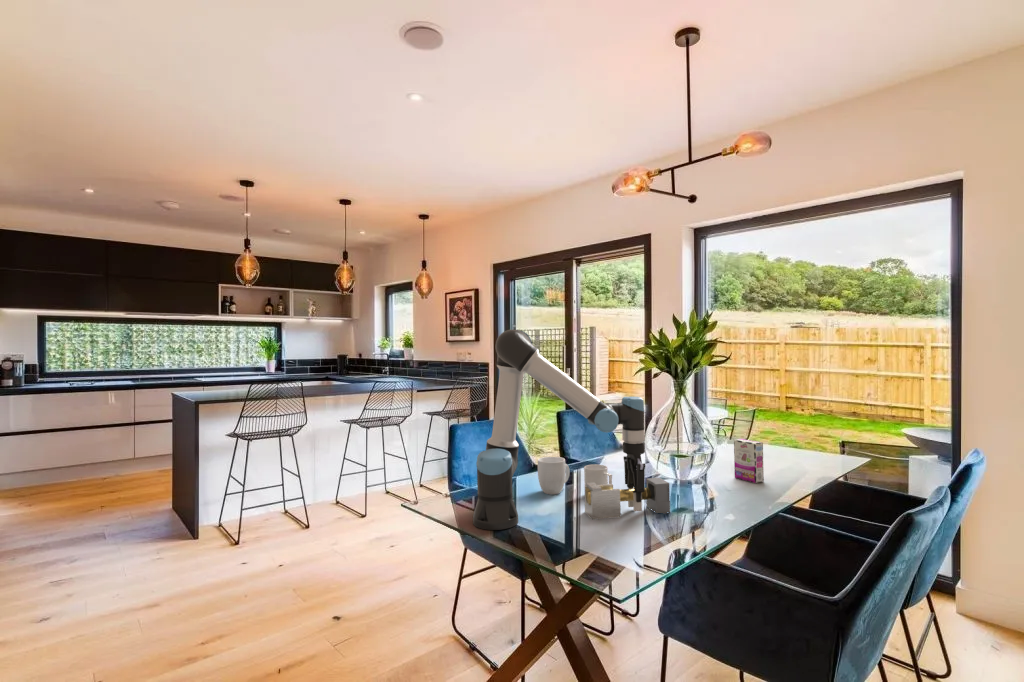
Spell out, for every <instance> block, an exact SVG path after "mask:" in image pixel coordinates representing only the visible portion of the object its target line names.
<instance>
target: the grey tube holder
mask: <svg viewBox="0 0 1024 682" xmlns="http://www.w3.org/2000/svg"><path fill="white" fill-rule="evenodd" d="M620 490H621V489H620V488H614V485H613V483H612V484H609V483H608V484H604V485H597V484H596V483H594V482H592V483H586V486H585V485H584V513H585V514H586V515H588V517H589V518H590V519H591V520H602V519H610V518H611V519H613V518H615V517H616V518H622V517H621V516H622V515H621V514H622V513H621V510H622V508H621V502H620ZM587 492H591V504H588V502H587Z"/></svg>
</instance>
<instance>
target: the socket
mask: <svg viewBox="0 0 1024 682" xmlns="http://www.w3.org/2000/svg"><path fill="white" fill-rule="evenodd" d="M645 481H646V482H645V486H646V488H647V487H648V488H649V489H650V491H651V499H647V500H646V508H647V507H649V508H650V509H652V510H653V511H655V512H656V513H663V514H668V513H667V512H670V513H671V498H670V496H671V495H670V493H671V491H670V482H668V481H666V480H664V479H663V478H660V477H651V478H650V477H649V478H645ZM649 508H648V509H649ZM650 509H649V510H650ZM652 510H651V511H652ZM653 511H652V512H653ZM655 512H654V513H655ZM656 513H655V514H656Z"/></svg>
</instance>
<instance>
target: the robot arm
mask: <svg viewBox="0 0 1024 682" xmlns="http://www.w3.org/2000/svg"><path fill="white" fill-rule="evenodd" d="M495 352H496V354H497V360H496V367H497V369H498V370H499V376H498V377H499V378H498V386H497V390H496V391H497V393H496V400H495V409H494V416H493V424H492V432H491V437H489V438H488V439H487V440H486V445H485V450H482V451H480V452H479V453H478V454H477V457H476V477H477V478H476V481H477V486H476V487H477V502H476V504H475V507H474V512H473V514H472V515H473V516H472V524H473V526H475V528H478V529H480V530H481V529H482V530H487V531H498V530H499V531H500V530H507V529H510V528H512V527H516V526H517V525H518V523H519V514H518V511H517V507H516V505H515V502H514V499H513V476H514V474H515V472H516V471H517V469H518V465H519V449H520V448H519V446H520V445H519V442H518V441H517V439H516V438H517V429H518V424H519V423H518V422H519V414H520V405H521V398H522V392H523V385H524V384H523V382H524V374H525V373H526V374H527V375H528V376H530V377H531V378H532V379H534V380H535V381H537V382H538V383H539V384H540V385H541V386H543V387H545V388H546V389H547V390H549V391H550V392H551V393H553V394H554V395H555V396H557V397H558V398H559V399H560V400H561V401H563V402H564V403H566V404H567V405H568V406H570V407H571V408H572V409H573V410H574V411H576V412H577V413H579V414H580V415H581V416H583V417H584V418H585V419H586V420H587V423H588V424H589V425H594V426H595V428H596V429H598V430H599V431H600V432H602V433H607V434H608V433H611V432H614V431H615V430H616V429H617V427H618V425H619V426H620V425H621V426H622V428H621V431H622V438H621V439H622V441H623V442H622V452H623V453H624V454H626V455H624V456H623V462H624V485H626V487H627V489H634V491H633V501H627V507H628V508H633V511H634V512H643V507H642V506H643V500H642V492H645V488H646V487H645V486H646V482H645V481H646V477H645V476H646V474H645V473H646V472H645V471H646V463H643V462H642V455H644V454H645V453H646V443H645V442H644V441H646V438H645V436H646V431H645V403H644V402H645V401H644V398H642V397H641V396H624V397H622V398H621V402H616V403H615V402H603V401H602V400H601V399H599V398H598V397H597V396H595V395H594V394H592V392H590V391H589V390H587V389H586V388H585V387H584V386H582V385H581V384H580V383H578V382H577V381H576V380H575V379H573V378H572V377H570V376H569V375H567V374H566V373H565V372H564V371H562V370H561V369H560V368H559V367H557V366H556V365H554V363H552V362H551V361H549V360H548V359H547V358H546V357H544V356H543V355H541V354H540V350H539V349H538V348H537V347H536V346H534V345H533V340H532V338H531V337H530V335H529V334H528V333H527V332H525V331H523V330H519V329H507V330H505V331H503V332H501V333H500V334H499V336H497V339H496V341H495Z"/></svg>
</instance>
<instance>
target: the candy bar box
mask: <svg viewBox="0 0 1024 682" xmlns="http://www.w3.org/2000/svg"><path fill="white" fill-rule="evenodd" d="M733 453H734V454H733V459H734V461H733V463H734V464H733V465H734V467H733V468H734V478H735V479H739V480H741V481H745V482H750V483H752V484H761V483H764V481H765V479H764V443H763V442H760V441H757V440H750V439H749V440H748V439H745V438H737V439H733Z"/></svg>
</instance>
